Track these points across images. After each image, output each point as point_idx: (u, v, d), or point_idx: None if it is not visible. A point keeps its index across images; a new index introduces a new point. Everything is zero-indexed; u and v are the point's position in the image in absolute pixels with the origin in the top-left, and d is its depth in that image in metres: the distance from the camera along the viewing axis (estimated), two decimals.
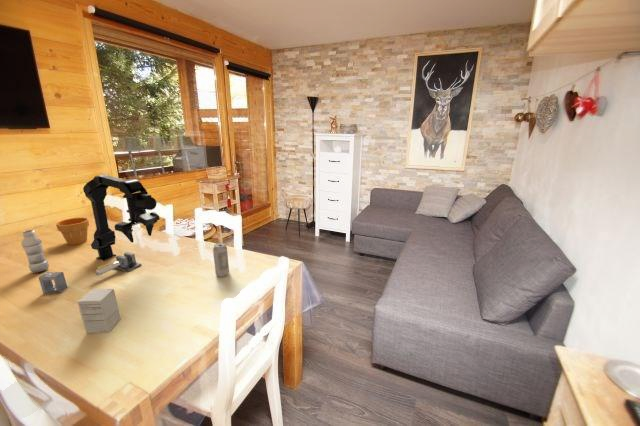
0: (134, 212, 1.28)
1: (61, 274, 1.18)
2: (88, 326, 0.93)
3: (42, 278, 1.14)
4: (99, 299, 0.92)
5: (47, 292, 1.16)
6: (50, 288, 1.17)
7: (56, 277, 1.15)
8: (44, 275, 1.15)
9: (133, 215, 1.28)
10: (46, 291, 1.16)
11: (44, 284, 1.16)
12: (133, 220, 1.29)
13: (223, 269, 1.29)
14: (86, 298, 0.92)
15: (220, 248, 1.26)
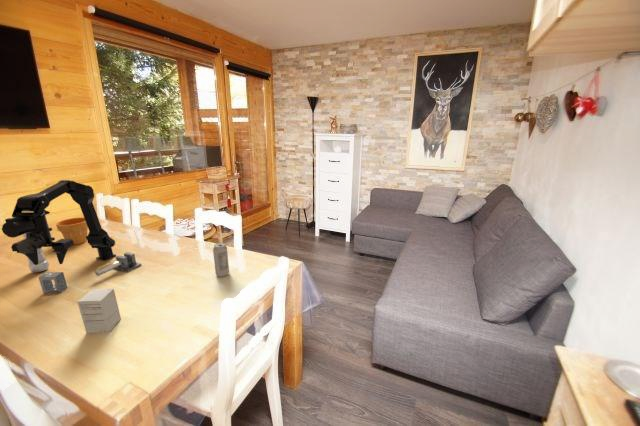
0: None
1: (61, 274, 1.18)
2: (88, 326, 0.93)
3: (42, 278, 1.14)
4: (99, 299, 0.92)
5: (47, 292, 1.16)
6: (50, 288, 1.17)
7: (56, 277, 1.15)
8: (44, 275, 1.15)
9: None
10: (46, 291, 1.16)
11: (44, 284, 1.16)
12: None
13: (223, 269, 1.29)
14: (86, 298, 0.92)
15: (220, 248, 1.26)
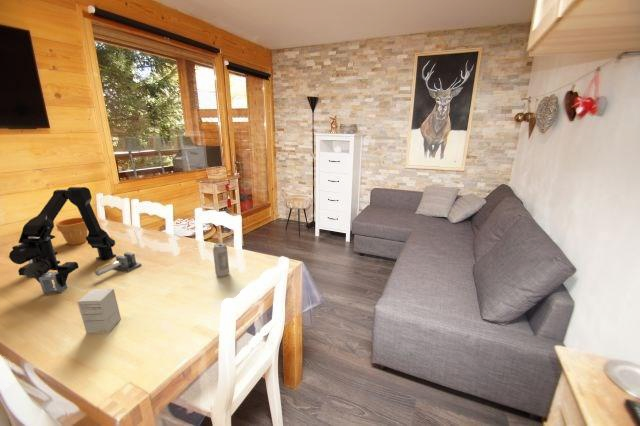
0: None
1: None
2: (88, 326, 0.93)
3: (41, 278, 1.14)
4: (99, 299, 0.92)
5: (47, 292, 1.16)
6: (50, 288, 1.17)
7: (56, 277, 1.15)
8: (44, 275, 1.15)
9: None
10: (46, 291, 1.16)
11: (44, 284, 1.16)
12: None
13: (223, 269, 1.29)
14: (86, 298, 0.92)
15: (220, 248, 1.26)
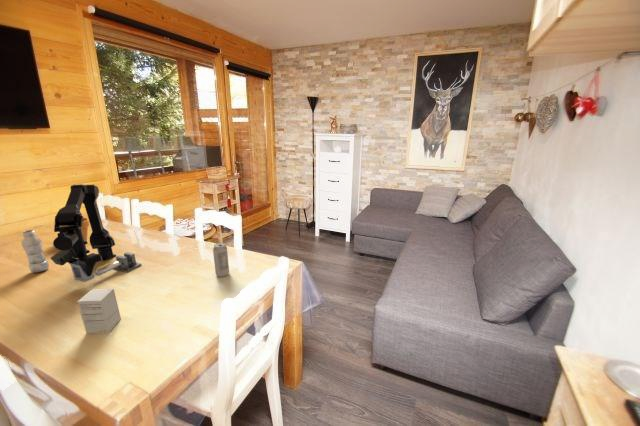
0: None
1: None
2: (88, 326, 0.93)
3: (72, 265, 1.18)
4: (99, 299, 0.92)
5: (76, 279, 1.20)
6: (80, 275, 1.21)
7: (81, 266, 1.16)
8: (75, 262, 1.19)
9: None
10: (76, 277, 1.20)
11: (75, 271, 1.19)
12: None
13: (223, 269, 1.29)
14: (86, 298, 0.92)
15: (220, 248, 1.26)
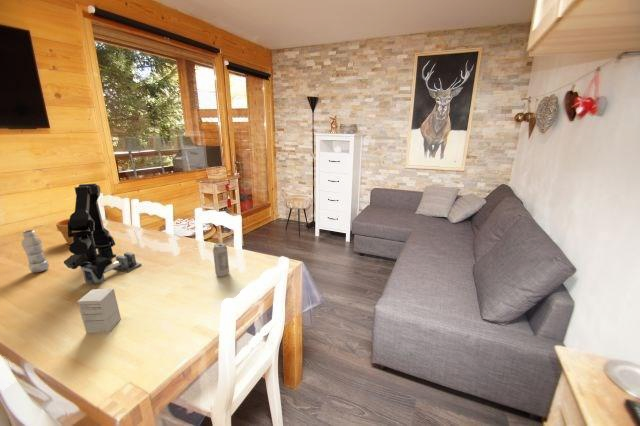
0: None
1: None
2: (88, 326, 0.93)
3: (83, 268, 1.22)
4: (99, 299, 0.92)
5: (87, 282, 1.24)
6: (91, 278, 1.25)
7: (92, 270, 1.21)
8: (87, 265, 1.23)
9: None
10: (87, 281, 1.24)
11: (86, 274, 1.24)
12: None
13: (223, 269, 1.29)
14: (86, 298, 0.92)
15: (220, 248, 1.26)
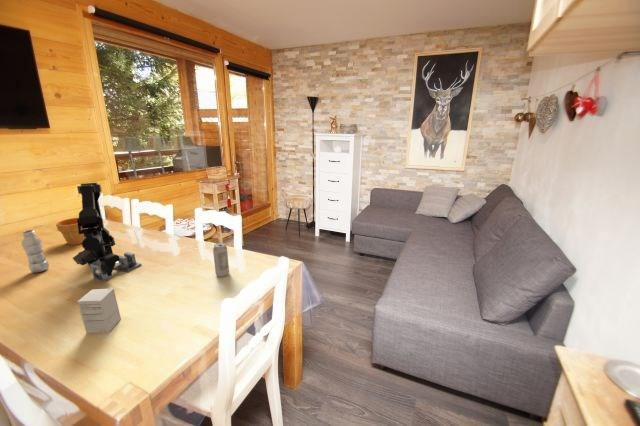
0: None
1: None
2: (88, 326, 0.93)
3: (92, 265, 1.25)
4: (99, 299, 0.92)
5: (96, 278, 1.27)
6: (99, 275, 1.28)
7: (101, 266, 1.24)
8: (95, 262, 1.26)
9: None
10: (95, 277, 1.27)
11: (94, 271, 1.27)
12: None
13: (223, 269, 1.29)
14: (86, 298, 0.92)
15: (220, 248, 1.26)
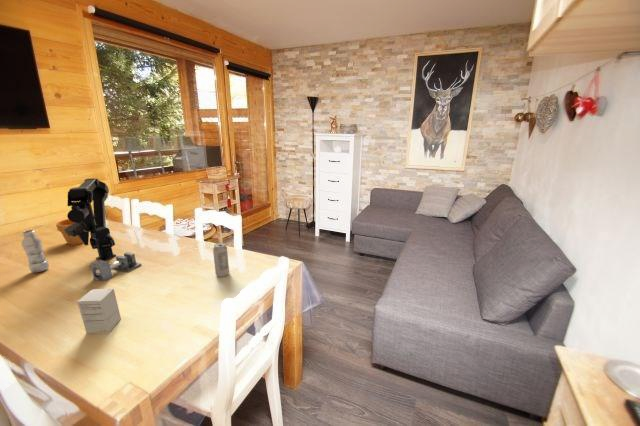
0: None
1: (107, 264, 1.26)
2: (88, 326, 0.93)
3: (92, 265, 1.25)
4: (99, 299, 0.92)
5: (96, 278, 1.27)
6: (99, 275, 1.28)
7: (101, 266, 1.24)
8: (95, 262, 1.26)
9: None
10: (95, 277, 1.27)
11: (94, 271, 1.27)
12: None
13: (223, 269, 1.29)
14: (86, 298, 0.92)
15: (220, 248, 1.26)
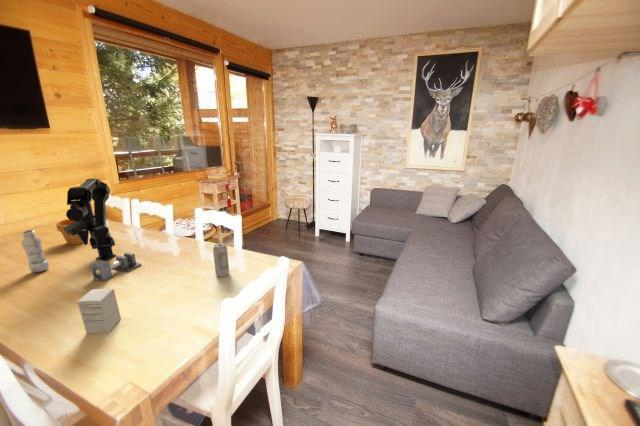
0: None
1: (107, 264, 1.26)
2: (88, 326, 0.93)
3: (92, 265, 1.25)
4: (99, 299, 0.92)
5: (96, 278, 1.27)
6: (99, 275, 1.28)
7: (101, 266, 1.24)
8: (95, 262, 1.26)
9: None
10: (95, 277, 1.27)
11: (94, 271, 1.27)
12: None
13: (223, 269, 1.29)
14: (86, 298, 0.92)
15: (220, 248, 1.26)
